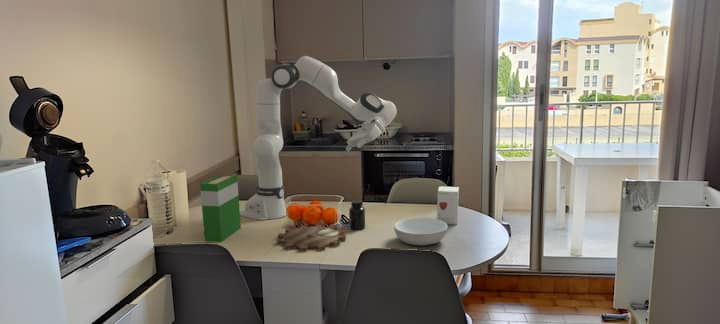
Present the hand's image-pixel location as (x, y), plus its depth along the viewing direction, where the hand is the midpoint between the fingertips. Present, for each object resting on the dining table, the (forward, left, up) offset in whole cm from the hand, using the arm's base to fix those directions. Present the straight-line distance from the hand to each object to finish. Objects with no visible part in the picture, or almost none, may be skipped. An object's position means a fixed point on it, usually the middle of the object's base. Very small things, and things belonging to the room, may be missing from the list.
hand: (352, 148), depth 213 cm
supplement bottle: (+5, -7, -34) cm, 35 cm away
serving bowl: (+35, -13, -34) cm, 50 cm away
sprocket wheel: (-7, -26, -34) cm, 43 cm away
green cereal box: (-45, -34, -34) cm, 66 cm away
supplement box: (+39, +16, -34) cm, 54 cm away
